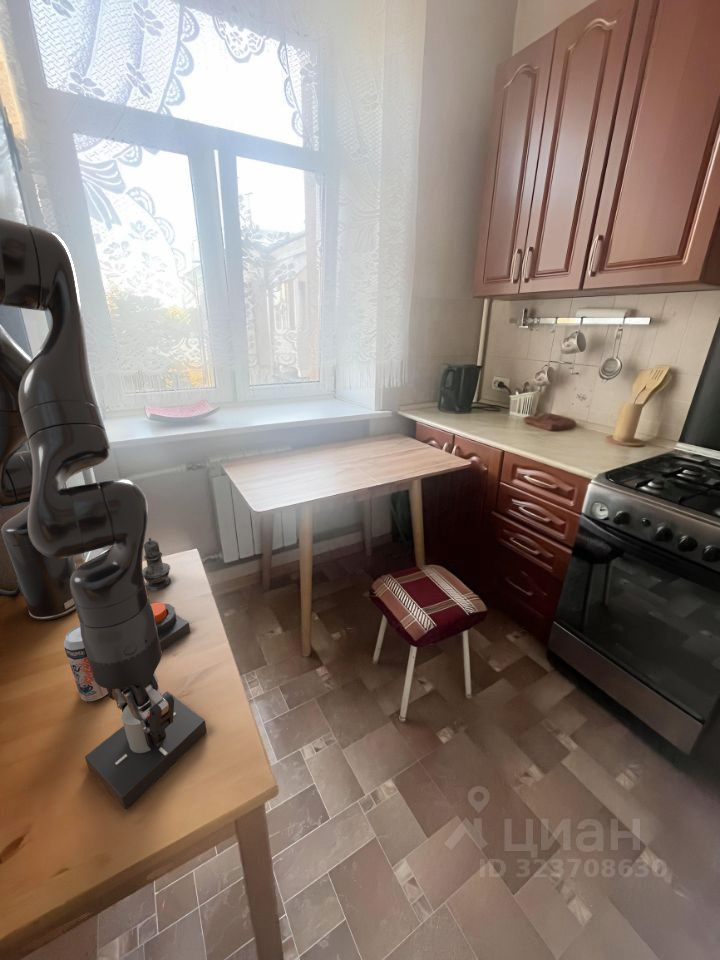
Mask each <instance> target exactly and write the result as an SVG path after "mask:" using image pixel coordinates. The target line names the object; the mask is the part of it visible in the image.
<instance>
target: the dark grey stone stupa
mask: <svg viewBox="0 0 720 960" xmlns="http://www.w3.org/2000/svg"><path fill="white" fill-rule="evenodd" d="M143 550H144V555H143V558H144V560H145V561H146V566H145V567H144V568H143V576H144V581H146V582H145V586H146V590H148V591H160V590H163V589H165V588H168V586H169V585H171V582H172V578H171V577H169V574H170V570H171V565H170V564H169V563H166V562H163V559H162V556H163V552H161V551H160V545H159V542H158V541H157V540H155V539H152V537H148V540H147V541H145V542H144V547H143Z"/></svg>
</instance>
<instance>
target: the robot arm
mask: <svg viewBox="0 0 720 960" xmlns="http://www.w3.org/2000/svg"><path fill="white" fill-rule="evenodd" d="M0 306H2V307H8V308H9V307H10V308H18V309H25V310H33V311H41V312H48V313H49V328H48V332H47V334H46V337H45V339H44V340H43V342H42V344H41V345H40V347H39V349H38V350H37V352H36V353H35V355H34V356H33V358H32V357H31V355H29V354H28V353H27V352H26V350H25V349H23V348H22V347H21V346H20V345H19V344H18V343H17V341H15V340H14V339H13V338H12V337H11V335H10V334H9V333H8V332H7V330H5V328H4V327H3V325H2V324H1V323H0V510H4V509H9V508H12V507H16V506H21V505H24V504H27V503H28V504H27V506H26V507H25V508H23V510H21V511H20V512H18V513H17V514H16V515H14V516H12V517H11V518H9V519H8V520H7V521H6V522H5V523H3V525H2V526H1V529H0V531H1V536H2V539H3V542H4V544H5V547H6V551H7V553H8V555H9V558H10V561H11V563H12V566H13V570H14V572H15V576H16V578H17V579H16V583H17V587H16V589H15V590H12V591H9V590H6V589H1V588H0V595H4V596H16V595H19V594H20V593H21V594H22V595H23V597H24V600H25V603H26V606H27V609H28V613H29V616H30V618H31V619H33V620H36V621H50V620H54V619H55V620H56V619H59V618H61V617H64V616H67V615H69V614H71V613H72V612H75V610H76V613H77V617H78V621H79V626H80V629H81V637H82V641H83V644H84V647H85V651H86V654H87V657H88V661H89V664H90V667H91V671H92V674H93V677H94V680H95V682H96V683H97V684H98V685H99V686H101V687H103V688H106V689H107V691H108V697H109V698H110V699H111V700H112V701H115V702H116V707H117V708H118V709H119V710H121V712H122V713H123V710H124V709H125V707H126V706H127V705H128V706H129V709H130V711H131V713H132V716H133V717H134V718H135V719H137V720H139V721H140V722H141V725H142V727H143V730H144V734H145V738H146V742H147V745H148V747H149V748H150V749H151V750H152V749H154V748H156V747H157V746H158V745H159V744H160V743H161V742H163V741H164V740H165V738H166V733H165V728H167V727H168V726H169V725H170V724H171V723H172V722H173V714H174V698H173V696H174V695H173V694H172V695H173V696H172V695H170V694H168V695H166V696H165V697H164V698H163V697H162V693H161V691H160V688H159V680H158V678H157V677H158V676H157V675H156V670H157V669H158V666H159V664H160V662H161V660H162V656H163V654H162V653H163V651H161V646H160V641H159V636H158V631H157V627H156V622H155V617H154V613H153V609H152V606H151V604H152V603H151V602H150V599H149V597H148V592H147V588H146V582H145V581H146V580H145V579H144V576H143V569H144V568H143V558H144V544H145V542H146V534H147V529H148V524H149V523H148V520H149V504H148V501H147V497H146V494H145V493H144V491H143V490H142V488H141V487H140V486H139V485H138V484H136V483H135V482H133V481H132V480H130V479H127V478H112V479H106V480H102V481H98V482H92V483H86V484H80V485H76V486H74V485H73V486H69V487H64V486H65V485H66V483H67V482H68V480H69V479H70V478H71V477H73V476H76V475H77V474H79V473H81V472H84V471H88V470H89V469H93V468H94V467H97V466H99V465H101V464H103V463H104V462H106V461H107V460H108V459H109V457H110V455H111V444H110V440H109V437H108V434H107V431H106V428H105V424H104V420H103V418H102V417H103V416H102V413H101V410H100V408H99V404H98V400H97V398H96V393H95V389H94V386H93V380H92V376H91V369H90V364H89V363H90V362H89V356H88V347H87V339H86V331H85V325H84V323H85V322H84V318H83V311H82V305H81V297H80V291H79V286H78V279H77V274H76V270H75V266H74V262H73V260H72V256H71V253H70V251H69V249H68V247H67V245H66V243H65V242H64V240H63V239H62V238H61V237H60V236H58V235H57V234H56V233H54V232H52V231H50V230H47V229H44V228H41V227H38V226H34V225H30V224H25V223H22V222H18V221H15V220H10V219H7V218H2V217H0ZM27 443H28V447H29V450H23V451H20V449H21V448H22V447H23V446H25V445H26V444H27ZM108 547H109V548H108ZM103 548H108V549H107V550H106V551H105V552H103V553H101V554H99V555H97V556H96V557H93V558H92V559H89V560H88V561H86V562H84V563H82V564H81V565H80V566H78V567H77V565H76V561H75V558H74V556H79V555H82V554H85V553H89V552H92V551H97V550H100V549H103ZM148 701H149V702H148ZM147 702H148V703H147ZM146 703H147V704H146ZM143 705H144V706H143ZM141 706H143V707H142V708H140V709H138V707H141ZM122 713H121V714H122ZM148 714H150V720H147V716H148Z"/></svg>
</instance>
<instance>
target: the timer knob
mask: <svg viewBox="0 0 720 960" xmlns="http://www.w3.org/2000/svg"><path fill="white" fill-rule="evenodd" d="M148 702H149V701H148ZM148 702H147V703H148ZM147 703H146V704H147ZM143 706H144V705H143ZM143 706H141V707H138V709H140V708H142V707H143ZM147 720H150V714H148V716H147ZM121 721H122V724H123V726H124V728H125V732H126V735H127V739H128V742H129V746H130V749H131V750H132V751H133V752H136V753H144V752H148V751H150V750H151V749H150V748H149V747H148V745H147V742H146V738H145V734H144V730H143V727H142V725H141V722H140V721H139V720H137V719H135V718H134V717H133V716H132V713H131V711H130V709H129V706H128V705H127V706H126V707H125V709H124V710H123V713H121Z"/></svg>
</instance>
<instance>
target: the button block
mask: <svg viewBox="0 0 720 960" xmlns="http://www.w3.org/2000/svg"><path fill="white" fill-rule="evenodd" d="M163 604H164V605H165V606H166V612H167V616H166V617H165V619H163V620H162V621H160V622H158V623H156V627H157V631H158V636H159V641H160V646H161V651H162V652H163V651H164V650H166V649H167V648H169V647H170V646H172V645H174V644H175V643H176V642H177V641H179V640H180V639H182V638H183V637H184V636H186V635H187V634H189V633H190V632H191V627H190V622H189V621H187V620H186V619H184V618H182V617H181V616H179V615H178V614H176V609H175V607H174V606H173V605H171V604H170V603H163Z"/></svg>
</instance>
